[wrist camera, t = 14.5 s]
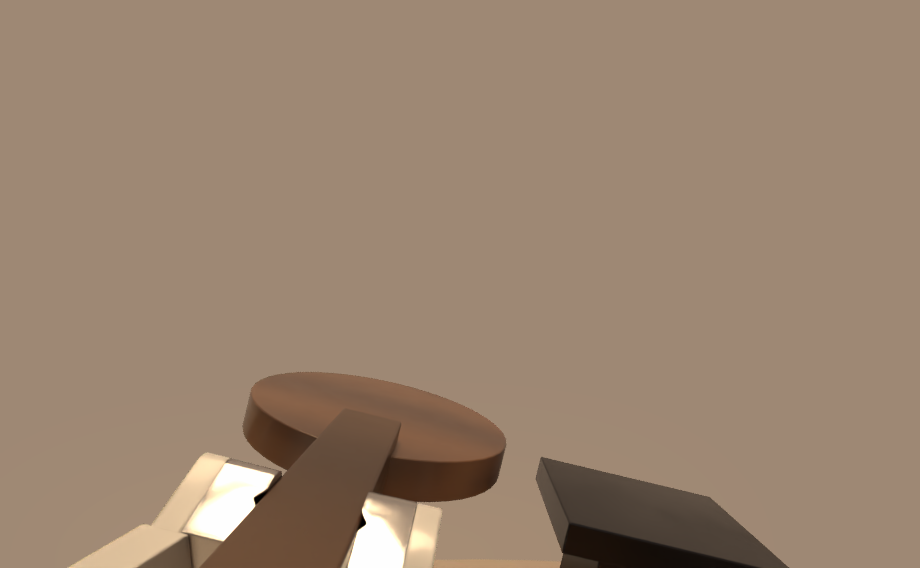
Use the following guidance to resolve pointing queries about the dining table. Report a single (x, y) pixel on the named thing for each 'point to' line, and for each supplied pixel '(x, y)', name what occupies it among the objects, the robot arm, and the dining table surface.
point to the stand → (641, 524)
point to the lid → (350, 463)
